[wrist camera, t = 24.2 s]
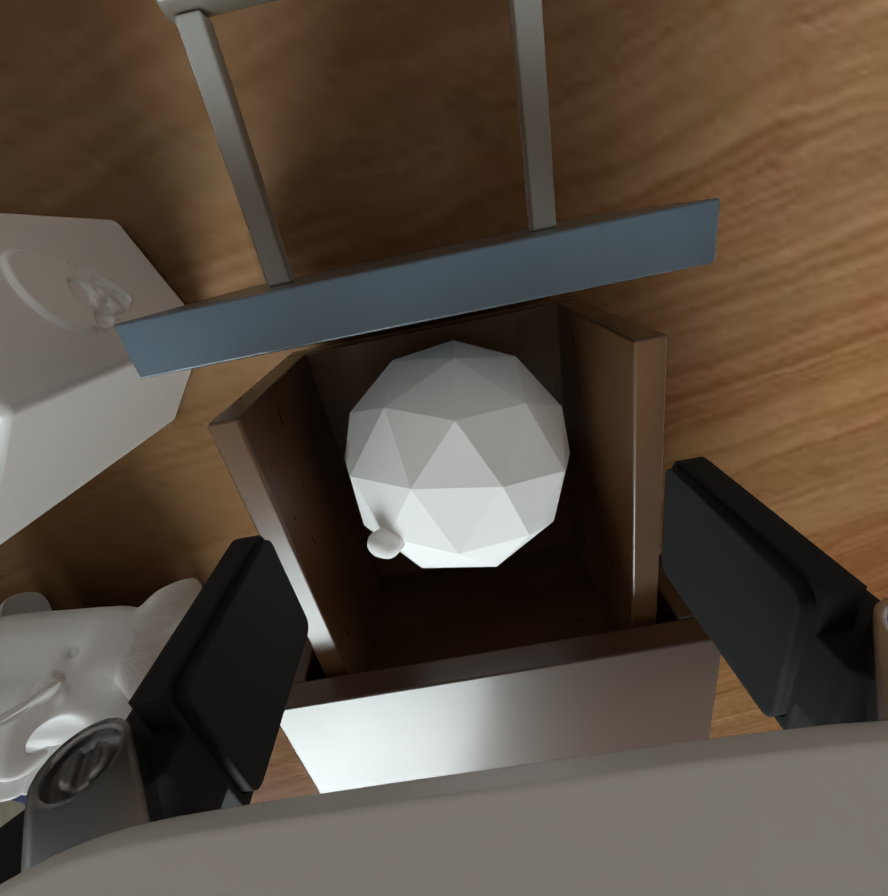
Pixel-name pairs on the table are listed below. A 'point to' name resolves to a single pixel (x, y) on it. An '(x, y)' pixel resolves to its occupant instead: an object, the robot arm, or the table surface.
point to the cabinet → (507, 704)
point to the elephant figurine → (73, 670)
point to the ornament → (456, 457)
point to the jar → (72, 359)
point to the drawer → (413, 301)
